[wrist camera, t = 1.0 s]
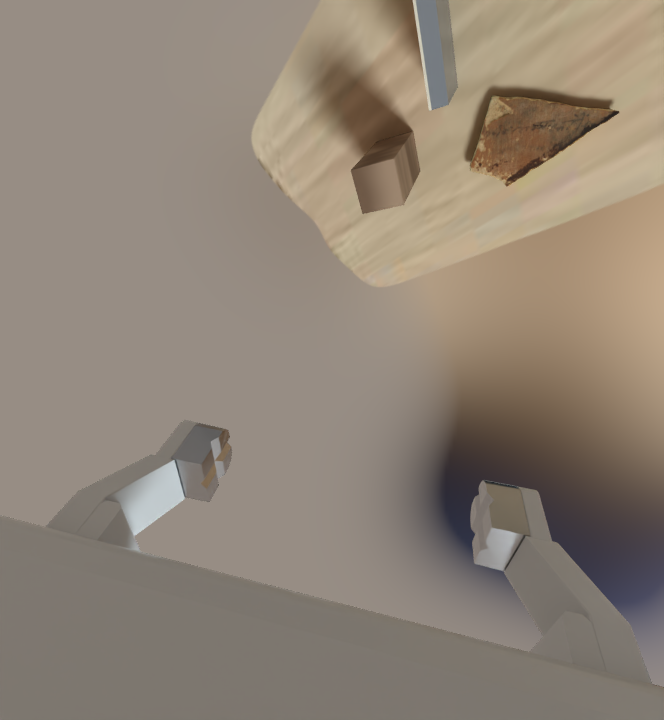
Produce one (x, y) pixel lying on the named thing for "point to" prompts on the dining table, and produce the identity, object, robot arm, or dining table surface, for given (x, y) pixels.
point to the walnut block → (386, 173)
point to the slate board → (436, 50)
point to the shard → (529, 134)
